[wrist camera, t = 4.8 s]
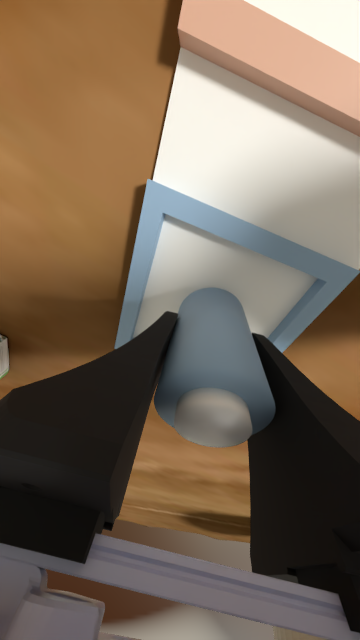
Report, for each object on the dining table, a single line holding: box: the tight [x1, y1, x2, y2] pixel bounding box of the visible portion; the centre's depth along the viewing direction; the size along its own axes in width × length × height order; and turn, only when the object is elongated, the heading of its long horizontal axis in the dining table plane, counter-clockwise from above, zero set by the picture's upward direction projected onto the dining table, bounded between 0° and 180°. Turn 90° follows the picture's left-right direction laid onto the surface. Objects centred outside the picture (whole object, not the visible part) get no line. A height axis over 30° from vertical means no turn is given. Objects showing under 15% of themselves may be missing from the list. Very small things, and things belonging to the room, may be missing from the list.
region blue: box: [115, 179, 360, 353], centre depth 12 cm, size 11×11×1 cm
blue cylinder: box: [154, 288, 276, 447], centre depth 8 cm, size 4×4×7 cm
